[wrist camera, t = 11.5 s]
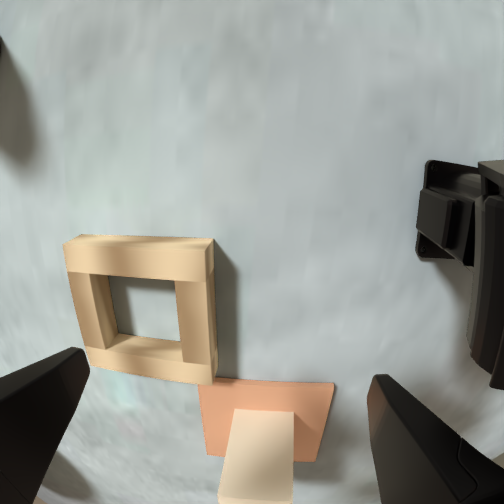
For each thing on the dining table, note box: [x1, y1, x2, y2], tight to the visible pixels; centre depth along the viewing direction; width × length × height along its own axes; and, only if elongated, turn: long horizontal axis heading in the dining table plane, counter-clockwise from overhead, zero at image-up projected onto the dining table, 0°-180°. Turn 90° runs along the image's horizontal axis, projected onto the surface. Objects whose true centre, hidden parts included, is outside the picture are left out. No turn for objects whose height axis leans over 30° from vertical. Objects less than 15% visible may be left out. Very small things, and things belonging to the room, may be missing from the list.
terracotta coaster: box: [198, 377, 334, 462], centre depth 26 cm, size 11×11×1 cm
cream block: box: [217, 409, 294, 504], centre depth 22 cm, size 5×5×9 cm
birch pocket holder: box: [63, 234, 218, 386], centre depth 22 cm, size 10×10×2 cm
